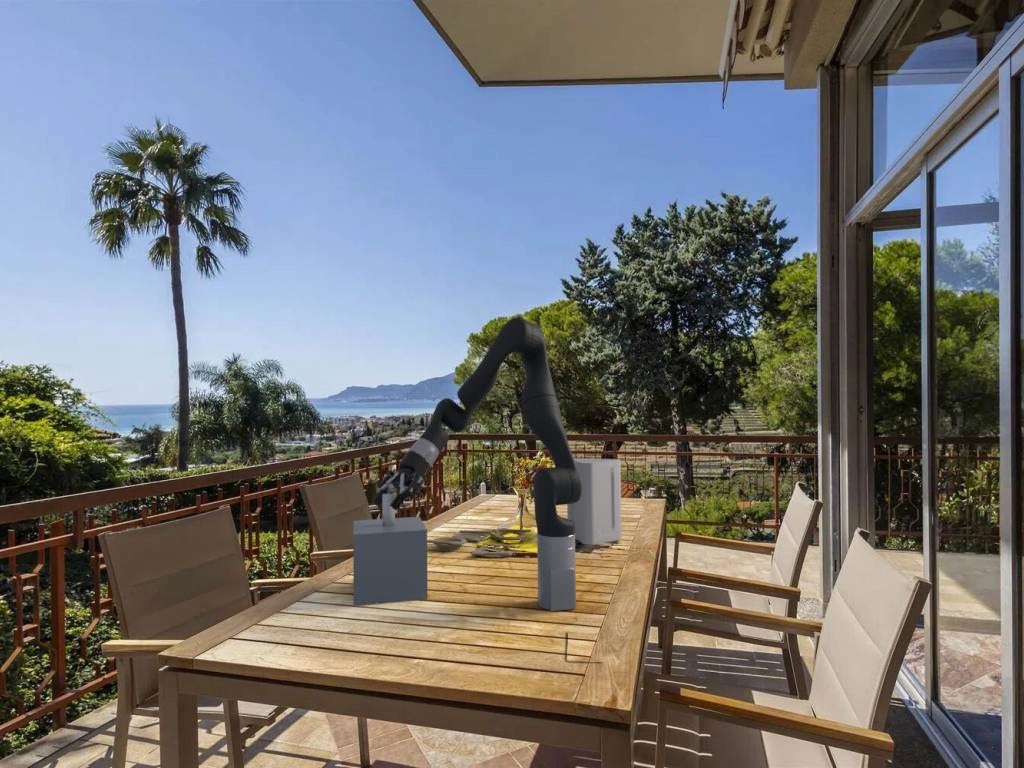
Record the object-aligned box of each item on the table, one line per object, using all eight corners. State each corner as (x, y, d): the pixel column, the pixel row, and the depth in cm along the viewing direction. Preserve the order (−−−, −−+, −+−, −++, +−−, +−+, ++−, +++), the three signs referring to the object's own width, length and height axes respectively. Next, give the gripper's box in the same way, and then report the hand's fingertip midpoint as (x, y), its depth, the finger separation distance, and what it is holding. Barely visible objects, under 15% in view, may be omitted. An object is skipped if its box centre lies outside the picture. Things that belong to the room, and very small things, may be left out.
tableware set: (505, 562, 187) (505, 549, 188) (420, 555, 197) (420, 543, 197) (537, 537, 221) (537, 526, 221) (463, 533, 230) (463, 522, 230)
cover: (427, 599, 152) (426, 498, 153) (353, 605, 148) (353, 501, 148) (420, 578, 170) (419, 488, 170) (353, 584, 165) (353, 491, 166)
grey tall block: (561, 543, 210) (560, 462, 211) (569, 534, 224) (568, 458, 225) (616, 546, 205) (615, 463, 206) (621, 536, 219) (620, 459, 220)
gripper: (396, 448, 170) (360, 494, 162) (427, 451, 160) (390, 500, 151) (412, 465, 173) (377, 511, 165) (443, 469, 163) (408, 518, 155)
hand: (383, 505), depth 158 cm, fingers open, 8 cm apart
